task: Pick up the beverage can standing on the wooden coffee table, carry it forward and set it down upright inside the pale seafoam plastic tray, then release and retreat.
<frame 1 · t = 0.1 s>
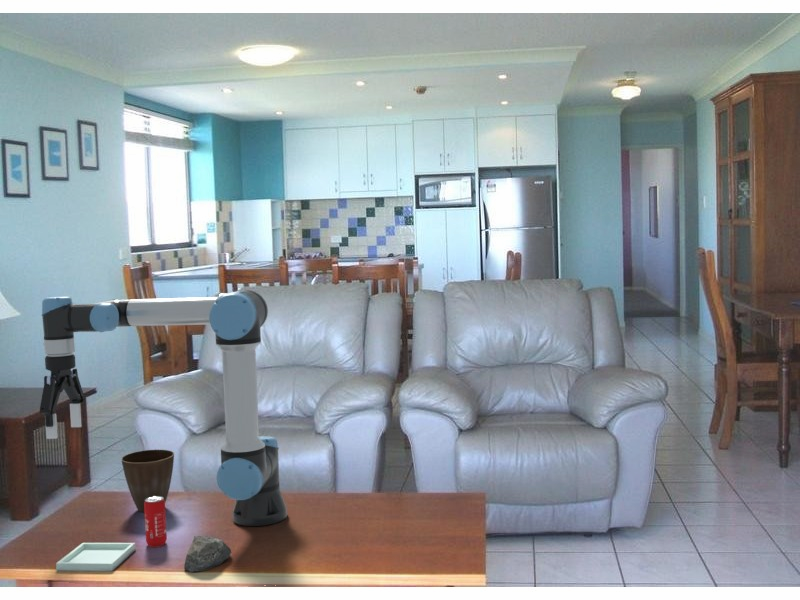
hand: (64, 432, 232), 28 cm above the table, fingers open, 13 cm apart
plant pot: (150, 509, 254), on the table
beverage can: (156, 545, 224), on the table
tray: (97, 559, 214), on the table
rock: (209, 563, 210), on the table
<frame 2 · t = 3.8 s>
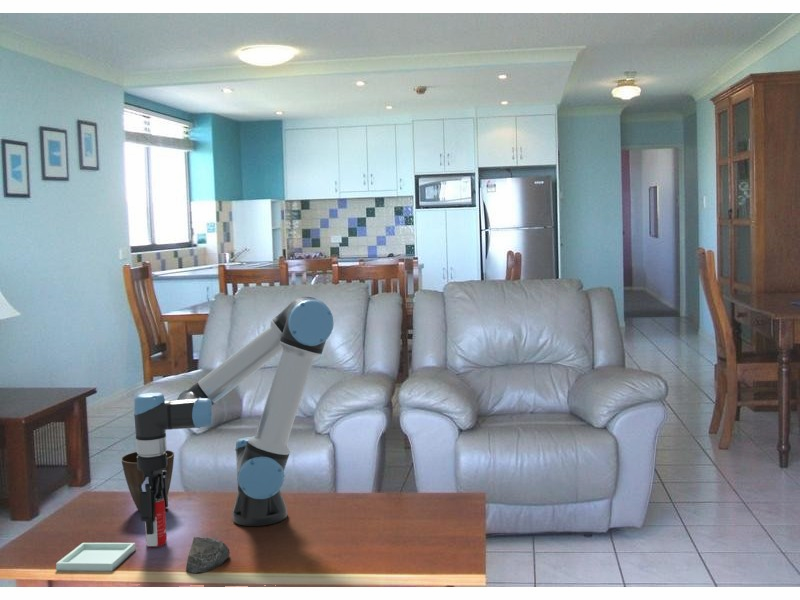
hand: (156, 541, 224), 1 cm above the table, fingers closed on beverage can, 5 cm apart
beverage can: (156, 544, 224), on the table, touching gripper
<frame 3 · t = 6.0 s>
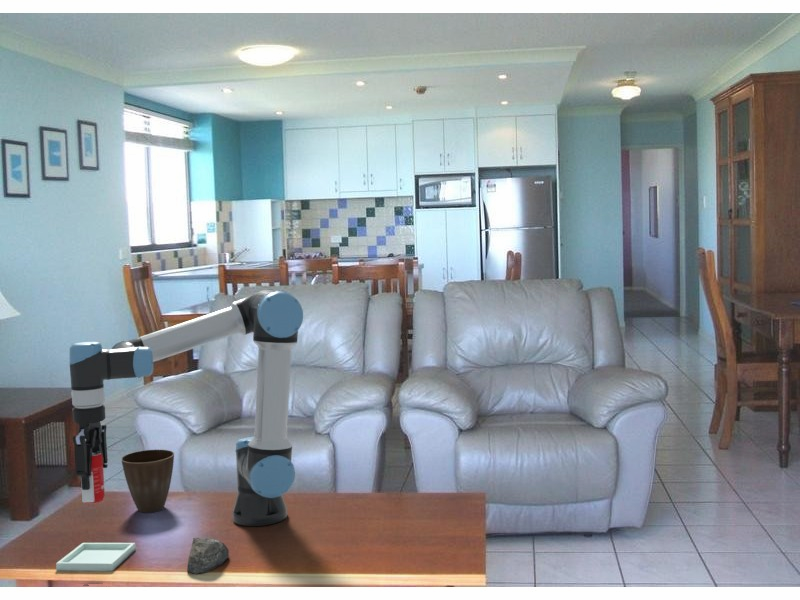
hand: (93, 498, 213), 16 cm above the table, fingers closed on beverage can, 5 cm apart
beverage can: (93, 501, 213), point 15 cm above the table, touching gripper
everything else where it was.
when the fingers open (3 cm above the table, at t = 8.6 s): beverage can drops 1 cm, resting on tray.
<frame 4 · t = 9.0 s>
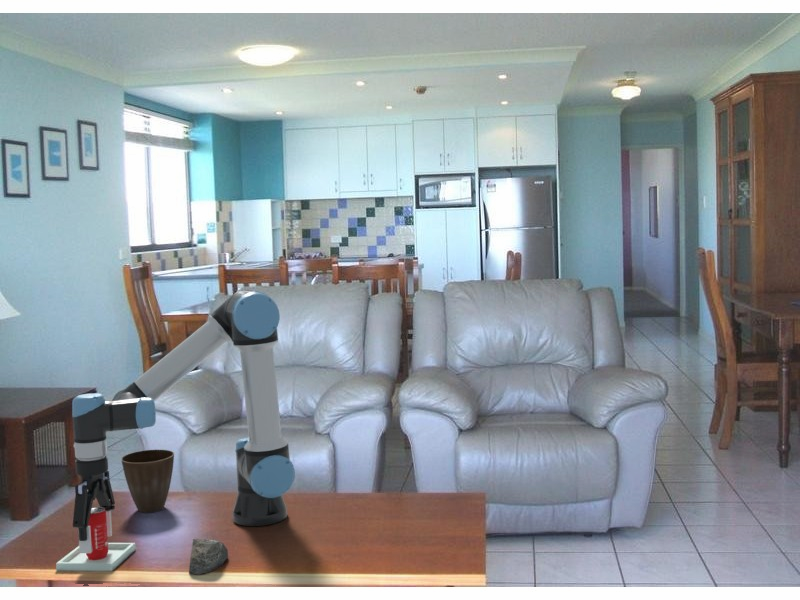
hand: (96, 544, 214), 4 cm above the table, fingers open, 11 cm apart
beverage can: (97, 557, 214), resting on tray
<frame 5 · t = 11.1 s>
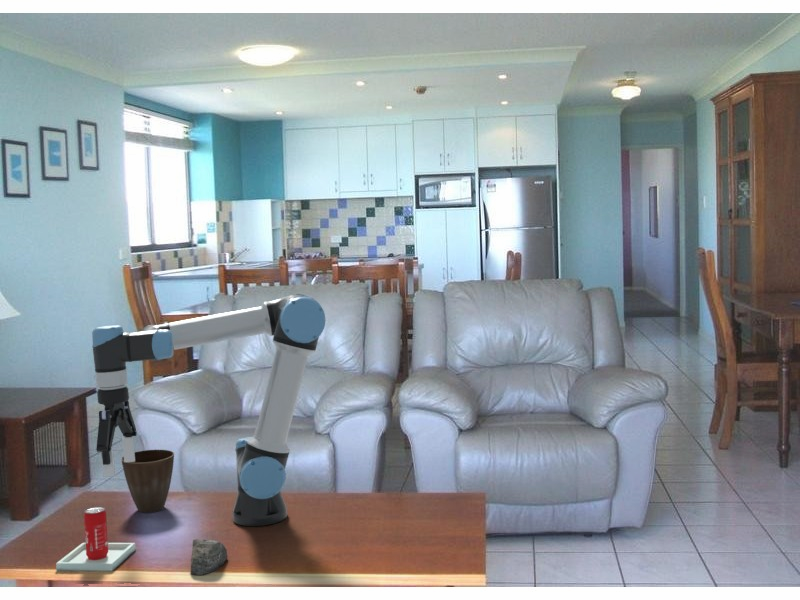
hand: (119, 469, 220), 21 cm above the table, fingers open, 13 cm apart
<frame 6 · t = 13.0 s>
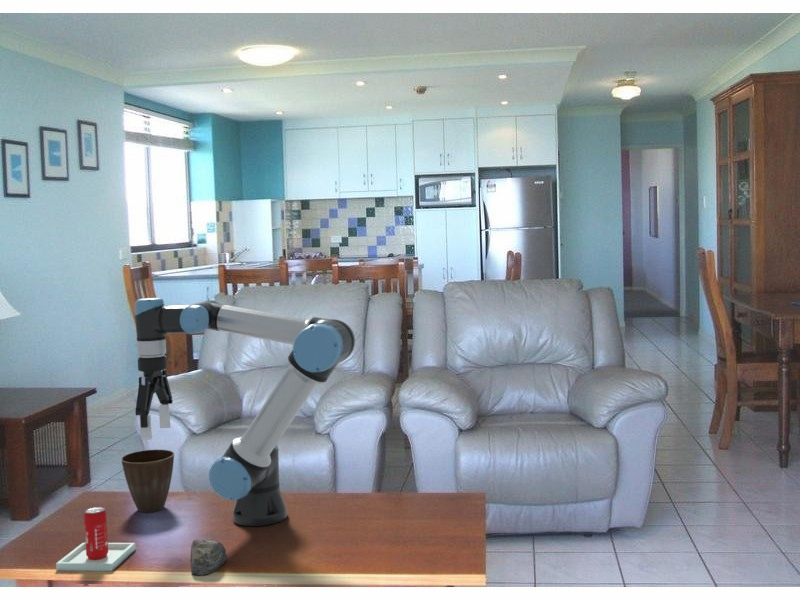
hand: (156, 433, 233), 27 cm above the table, fingers open, 13 cm apart
at the end: beverage can 0.2 cm from the tray (horizontally); beverage can touching tray; beverage can tilted 0° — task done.
